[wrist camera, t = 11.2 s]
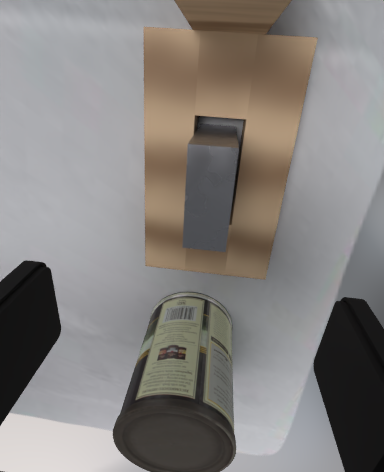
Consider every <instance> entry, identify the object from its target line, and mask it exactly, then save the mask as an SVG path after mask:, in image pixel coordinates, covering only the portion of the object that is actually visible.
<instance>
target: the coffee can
mask: <svg viewBox="0 0 384 472" xmlns="http://www.w3.org/2000/svg"><path fill="white" fill-rule="evenodd" d="M231 333H232V322H231V318H230V316H229V314H228V312H227V311H226V309H225V308H224V307H223V306H222V305H221V304H220V303H218V302H217V301H216V300H214V299H212V298H210V297H208V296H206V295H203V294H199V293H190V292H184V293H177V294H173V295H170V296H168V297H166V298H164V299H163V300H161V301H160V302H159V303H158V304H157V305H156V306H155V307H154V309H153V311H152V314H151V318H150V322H149V325H148V329H147V332H146V335H145V338H144V341H143V344H142V347H141V350H140V354H139V357H138V360H137V363H136V366H135V369H134V372H133V375H132V378H131V382H130V385H129V388H128V391H127V394H126V397H125V400H124V403H123V407H122V410H121V413H120V415H119V416H118V418H117V420H116V423H115V426H114V429H113V439H114V442H115V445H116V447H117V448H118V450H119V451H120V452H121V454H123V456H125V457H126V458H127V459H128V460H129V461H131V462H132V463H134V464H135V465H137V466H139V467H141V468H143V469H145V470H147V471H150V472H220V471H222V470H223V469H225V468H226V467H228V466H229V464H231V462H232V461H233V459H234V457H235V454H236V441H235V435H234V414H233V376H232V334H231Z"/></svg>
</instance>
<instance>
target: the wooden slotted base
mask: <svg viewBox="0 0 384 472" xmlns="http://www.w3.org/2000/svg"><path fill="white" fill-rule="evenodd" d="M174 1H175V2H176V4H177V5H178V7H179V8H180V10H181V12H182V13H183V15H184V16H185V18H186V19H187V21H188V23H189V24H190V26H191V27H192V29H193V30H186V29H170V28H154V27H144V131H145V260H146V266H151V267H159V268H168V269H177V270H186V271H194V272H203V273H212V274H220V275H229V276H238V277H247V278H255V279H264V280H265V278H266V274H267V269H268V265H269V260H270V255H271V251H272V246H273V242H274V237H275V232H276V228H277V223H278V219H279V214H280V209H281V205H282V200H283V195H284V191H285V186H286V182H287V177H288V172H289V168H290V163H291V159H292V154H293V149H294V145H295V140H296V136H297V131H298V126H299V122H300V117H301V113H302V108H303V103H304V99H305V94H306V89H307V85H308V80H309V76H310V71H311V66H312V62H313V57H314V53H315V48H316V43H317V39H318V38H315V37H299V36H283V35H267V34H266V33H267V32H268V31H269V29H270V28H271V27H272V25H273V24H274V23H275V22H276V20H277V19H278V18H279V16H280V15H281V14H282V12H283V11H284V10H285V8H286V7H287V6H288V5H289V3H290V2H291V1H292V0H174ZM198 116H210V117H222V118H235V119H244V122H243V130H242V137H241V144H240V152H239V159H238V166H237V174H236V181H235V189H234V196H233V203H232V211H231V214H230V222H229V230H228V237H227V245H226V252H219V251H209V250H200V249H190V248H182V244H183V225H184V205H185V186H186V166H187V147H188V143H189V141H190V140H191V138H192V137H193V135H194V134H195V132H196V131H197V121H198Z"/></svg>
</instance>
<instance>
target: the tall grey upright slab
mask: <svg viewBox="0 0 384 472" xmlns="http://www.w3.org/2000/svg"><path fill="white" fill-rule="evenodd" d="M238 152H239V145H238V140H237V134H236V129H235V126H223V125H210V124H201V125H200V126H199V128H198V129H197V131H196V132H195V134H194V135H193V137H192V138H191V140H190V141H189V143H188V147H187V166H186V186H185V205H184V225H183V244H182V248H190V249H200V250H209V251H219V252H226V245H227V237H228V230H229V222H230V214H231V206H232V199H233V191H234V183H235V175H236V168H237V160H238Z"/></svg>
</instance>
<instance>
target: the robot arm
mask: <svg viewBox="0 0 384 472" xmlns="http://www.w3.org/2000/svg"><path fill="white" fill-rule="evenodd" d="M60 332H61V324H60V319H59V313H58V307H57V302H56V296H55V291H54V285H53V280H52V274H51V270H50V268H48V267H46V264H45V263H43V262H35V261H24V262H22V263H21V264H20V265H19V266H18V267H17V268H15V269H14V270H13V271H12V272H11V273H10V274H9V275H7V276H6V277H5V278H4V279H3V280H2V281H1V282H0V425H1V424H2V422H3V421H4V419H5V418H6V416H7V415H8V413H9V412H10V410H11V409H12V407H13V406H14V404H15V403H16V401H17V400H18V398H19V397H20V395H21V394H22V392H23V391H24V389H25V388H26V386H27V385H28V383H29V382H30V380H31V379H32V377H33V376H34V374H35V373H36V371H37V370H38V368H39V367H40V365H41V364H42V362H43V361H44V359H45V358H46V356H47V355H48V353H49V351H50V350H51V348H52V347H53V345H54V344H55V342H56V341H57V339H58V338H59V336H60ZM314 372H315V376H316V379H317V382H318V385H319V389H320V392H321V395H322V398H323V402H324V405H325V408H326V411H327V414H328V418H329V421H330V424H331V427H332V431H333V434H334V437H335V441H336V444H337V447H338V451H339V454H340V457H341V460H342V463H343V467H344V470H345V472H384V329H383V327H382V326H381V324H380V323H379V321H378V319H377V318H376V316H375V315H374V313H373V312H372V310H371V309H370V307H369V305H368V304H367V302H366V301H365V300H363V299H356V298H347V297H344V298H342V299H341V301H336V302H335V304H334V307H333V310H332V312H331V315H330V318H329V321H328V323H327V326H326V329H325V332H324V334H323V337H322V340H321V343H320V345H319V348H318V351H317V354H316V356H315V359H314ZM0 472H3V471H0Z"/></svg>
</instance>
